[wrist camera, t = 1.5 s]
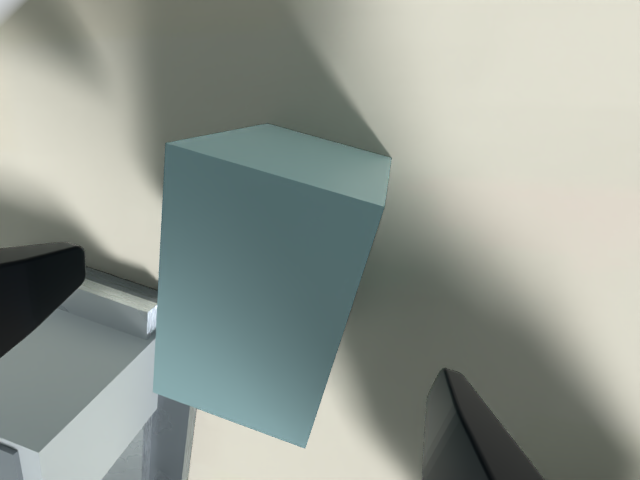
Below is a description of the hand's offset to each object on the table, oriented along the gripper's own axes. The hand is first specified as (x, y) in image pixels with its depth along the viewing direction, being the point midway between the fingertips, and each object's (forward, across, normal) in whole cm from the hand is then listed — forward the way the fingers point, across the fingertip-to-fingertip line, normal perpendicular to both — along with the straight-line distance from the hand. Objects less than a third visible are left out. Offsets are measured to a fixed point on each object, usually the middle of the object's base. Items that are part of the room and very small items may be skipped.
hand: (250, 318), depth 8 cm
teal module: (+6, 0, 0) cm, 6 cm away
